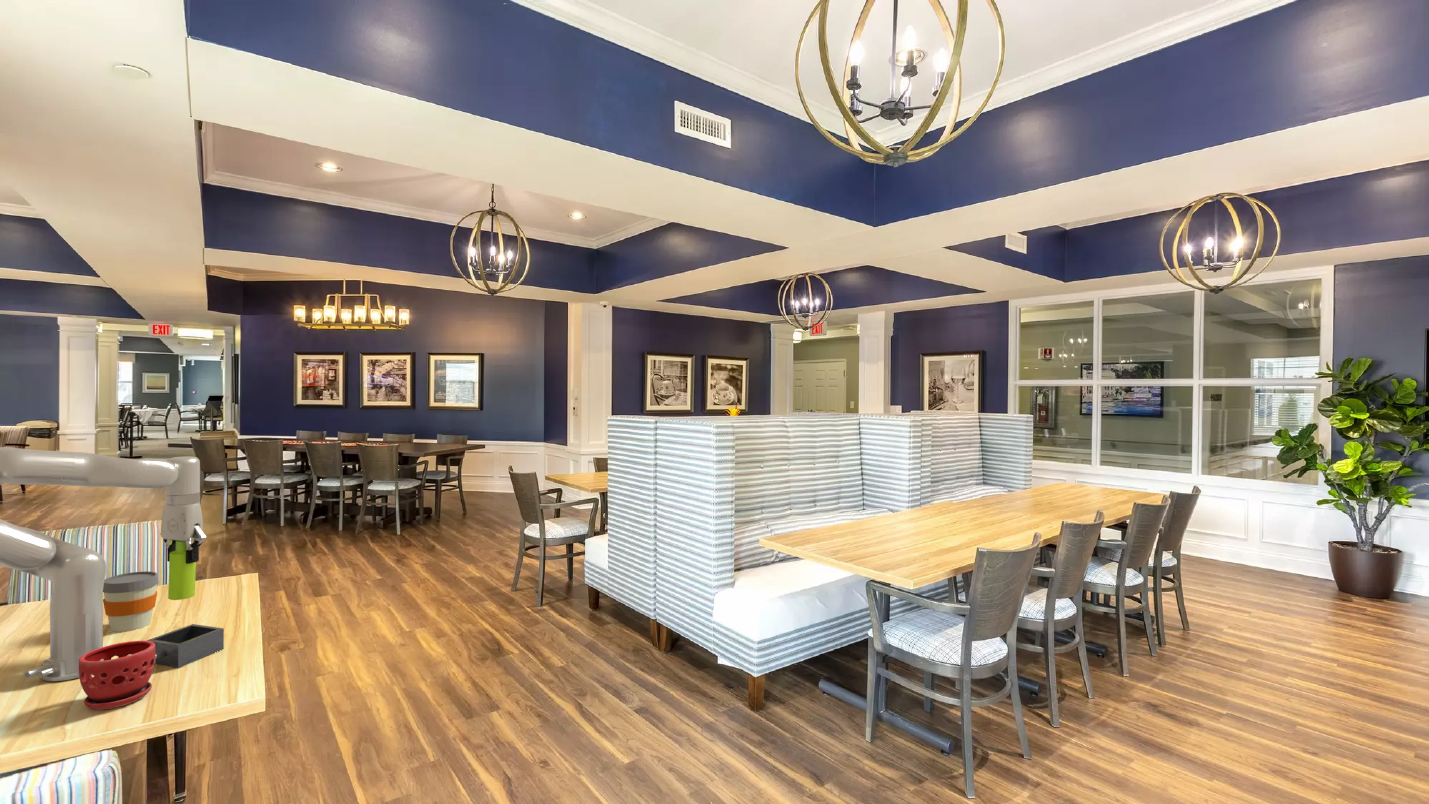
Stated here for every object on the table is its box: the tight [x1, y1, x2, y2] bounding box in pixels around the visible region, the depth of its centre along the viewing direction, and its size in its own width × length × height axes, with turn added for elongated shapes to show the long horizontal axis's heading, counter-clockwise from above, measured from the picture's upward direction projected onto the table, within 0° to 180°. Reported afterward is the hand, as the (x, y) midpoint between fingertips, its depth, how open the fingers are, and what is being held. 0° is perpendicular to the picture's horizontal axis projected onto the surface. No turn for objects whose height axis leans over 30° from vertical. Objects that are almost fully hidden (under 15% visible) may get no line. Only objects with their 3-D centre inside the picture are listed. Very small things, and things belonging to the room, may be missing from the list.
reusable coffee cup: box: [103, 570, 159, 633], centre depth 189 cm, size 13×13×15 cm
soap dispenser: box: [167, 540, 197, 601], centre depth 181 cm, size 6×7×20 cm
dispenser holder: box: [145, 623, 225, 669], centre depth 168 cm, size 17×11×6 cm, turn 167°
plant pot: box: [79, 640, 156, 710], centre depth 147 cm, size 13×13×12 cm
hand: (183, 560), depth 181 cm, fingers closed on soap dispenser, 6 cm apart
